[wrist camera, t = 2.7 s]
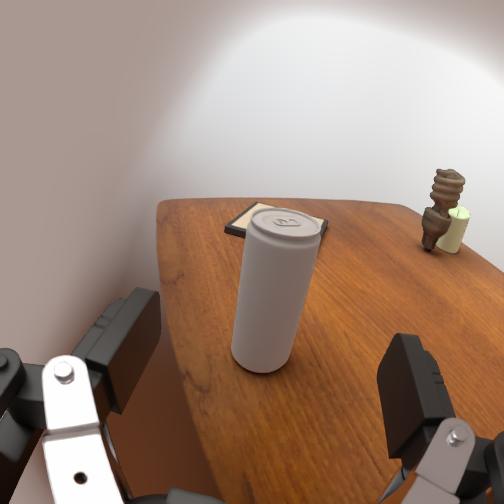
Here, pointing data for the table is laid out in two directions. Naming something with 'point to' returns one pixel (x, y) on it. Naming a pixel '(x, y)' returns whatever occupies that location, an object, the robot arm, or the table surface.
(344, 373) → the table surface
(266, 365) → the beverage can
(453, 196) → the light bulb
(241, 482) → the table surface
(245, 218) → the black and cream coaster
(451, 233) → the candle
